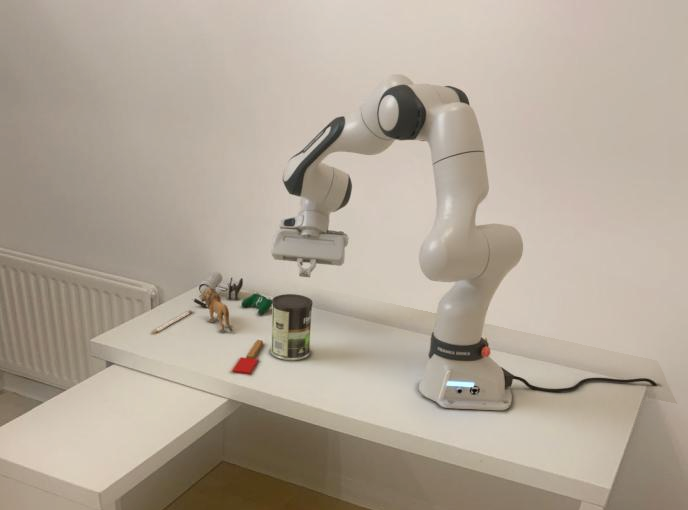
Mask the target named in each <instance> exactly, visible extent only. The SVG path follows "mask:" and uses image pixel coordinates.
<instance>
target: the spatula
mask: <svg viewBox="0 0 688 510" xmlns="http://www.w3.org/2000/svg"><path fill="white" fill-rule="evenodd" d="M263 345H264V341H263V340H262V339H256V341H255V342H254V344H253V346H252V347H251V348H250V349H249V351H248V353H247V354H246V357H242V356H241V357H240V358H239V359H238V361H237V363H236V364H235V365H234V367H233V368H232V373H235V374H236V373H238V374H243V375H251V374H252V372H253V370H254V369H255V367H256V365H257V364H258V362H259V359H258V358H255V357H256V356H257V354H258V353H259V351H260V349H261V348H262V347H263Z"/></svg>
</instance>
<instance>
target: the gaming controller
mask: <svg viewBox="0 0 688 510" xmlns="http://www.w3.org/2000/svg"><path fill="white" fill-rule="evenodd" d="M272 299H273V298H271V297H269V296H268V295H267V296H264V295H261V293H259V292H258V291H257V290H254V293H252V295H250V296H248V297H246V298H244V299H243V300H242V301H241V305H240V306H241V307H242V308H247V307H250V306H254V307H255V308H258V311H257V314H258V315H260V316H261V315H263V314H265V313H266V312H267V311H269V310H270V309H271V308H272Z"/></svg>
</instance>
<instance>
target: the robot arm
mask: <svg viewBox="0 0 688 510" xmlns="http://www.w3.org/2000/svg"><path fill="white" fill-rule="evenodd" d="M395 141H419V142H427V144H428V146H429V149H430V156H431V157H430V158H431V163H432V172H433V178H434V186H435V193H436V194H435V197H436V207H435V208H436V209H435V217H434V220H433V225H432V227H431V229H430V231H429V233H428V235H426V238H424V240H423V242H422V243H421V245H420V248H419V252H418V264H419V267H420V269H421V272H422V274H423V275H424V276H425V277H426V278H427V280H430V281H432V282H439V283H440V282H441V283H454V284H453V285H452V286H451V288H450V289H449V290H448V291H446V293H445V294H444V295H442V296H441V298H440V299H439V301H438V304H437V307H436V308H437V309H436V316H435V321H434V328H433V331H432V333H431V337H430V340H429V346H428V351H427V352H428V360H427V362H426V363H427V364H426V366H425V370H424V372H423V376H422V378H421V380H420V382H419V384H418V391H419V393H420V394H421V395H423V397H425V398H427V399H429V400H431V401H433V402H435V403H437V404H438V405H439V406H440V407H441V408H445V409H456V410H457V409H459V410H481V411H482V410H483V411H506V410H507V409H508V408H510V407H511V405H512V401H513V400H512V399H513V395H512V391H511V389H510V387H512V386H513V380H516V381H519V382H522V384H524V386H526V387H527V388H529V389H532V390H535V391H541V392H548V393H561V392H563V393H564V392H571V391H574V390H576V389H578V388H579V387H580V386H581V385H583V384H584V383H587V382H588V383H589V382H596V381H597V382H599V381H600V382H611V383H623V384H628V383H639V382H647V383H650V384H651V385H652V386H653V387H658V384H657V383H656V382H655V381H654V380H653V379H651V378H647V377H639V378H630V379H621V378H611V377H587V378H583V379H582V380H580V381H578V382H577V383H576V384H575V385H573V386H570V387H563V388H547V387H540V386H536V385H533V384H531V383H529V382H528V381H527V380H526V379H525V378H523V377H520V376H516V375H514V374H512V373H511V372H510V371H508V370H507V369H505V368H504V367H502V366H500V365H499V364H498V363H497V362H496V361H495V360H494V359H492V358H491V348H490V347H489V342H488V339H487V337H485V338H483V337H482V335H483V330H484V327H485V321H486V317H487V314H488V313H487V312H488V309H489V306H490V304H491V302H492V299H493V297H494V296H495V294H496V292H497V290H498V288H499V287H500V285H501V283H502V282H503V281H504V279H505V277H506V276H507V275H508V274H509V272H511V271H512V270H513V269H514V268H515V267H516V266H517V265H518V264H519V263H520V261H521V260H522V256H523V253H524V241H523V238H522V236H521V233H520V231H519V230H518V229H517V228H516V227H514V226H512V225H508V224H502V223H487V224H486V223H485V224H478V225H476V215H477V210H478V207H479V205H480V204H482V203H483V201H485V199H486V198H487V196H488V194H489V189H490V184H489V175H488V169H487V161H486V153H485V147H484V141H483V137H482V132H481V129H480V124H479V121H478V118H477V115H476V113H475V111H474V108H473V107H472V106H471V104H470V100H469V98H468V95H467V94H466V93H465V92H464V91H463V90H462V89H460V88H458V87H455V86H451V85H437V84H430V83H414V82H413V81H412V80H411V79H410V78H409V77H408V76H406V75H404V74H399V73H394V74H391V75H388V76H387V77H386V78H385V79H383V80H382V81H381V82H380V83H379V84H378V85H376V87H375V88H374V89H373V90H372V92H370V94H369V95H368V96H367V97H366V99H365V100H364V102H363V103H362V104H361V105H360V106H359V107H358V108H357V109H355V110H354V111H352V112H350V113H348V114H346V115H342V116H337V117H335V118H333V119H332V120H331V121H330V122H329V123H328V124H327V125H326V126H324V127H323V129H322V130H321V131H319V132H318V134H316V136H315V137H314V138H312V139H311V140H310V141H309V143H308V144H307V145H306V146H305V147H304V148H302V149H301V150H300V151H299V152H297V153H296V154H294V155H292V157H290V159H289V160H288V162H287V163H286V165H285V167H284V170H283V174H282V182H283V186H284V187H285V189H286V191H287V192H288V194H289V195H292V196H295V197H299V198H300V202H299V203H300V210H299V212H298V214H297V215H295V216H292V217H287V218H283V219H280V222H279V229H278V230H277V231H276V232H275V234H274V236H273V239H272V244H271V248H270V253H271V257H272V258H273V259H274V260H276V261H285V262H286V261H287V262H296V263H297V267H298V269H299V272H298V275H299V277H301V278H311V274H312V272H314V270H315V268H316V267H317V265H318V264H319V265H328V266H337V267H340V266H343V264H344V263H345V257H346V249H345V248H346V247H347V246H348V244H349V236H348V234H347V233H345V231H337V230H331V229H329V227H330V215H331V213H335V212H337V211H339V210H342V209H343V208H344V207H346V206H347V205H348V204H349V202H350V199H351V195H352V190H353V182H352V178H351V176H350V174H349V173H346V172H345V171H343V170H341V169H338V168H336V167H335V166H331V165H328V164H327V163H324V162H323V161H324V160H325V159H326V158H327V157H328V156H329V155H331V154H334V153H339V152H345V153H351V154H357V155H358V154H359V155H363V156H365V155H366V156H375V155H379V154H382V153H383V152H385V151H386V150H388V149H389V148H390V147H391V146H392V145H393V144H394V142H395ZM304 263H305V264H306V263H307V264H310V265H309V267H308V268H303V265H304Z"/></svg>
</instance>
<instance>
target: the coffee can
mask: <svg viewBox="0 0 688 510" xmlns="http://www.w3.org/2000/svg"><path fill="white" fill-rule="evenodd" d="M271 299H272V305H271V309H272V310H271V350H270V353H271V355H272V356H273V357H275V358H276V359H279V360H282V361H283V360H284V361H299V360H301V361H302V360H304V359H306V358H308V357H309V356H310V346H311V345H310V344H311V327H312V325H311V324H312V306H313V300H312V299H311V298H310V297H308V296H305V295H301V294H295V293H292V294H291V293H286V294H285V293H284V294H280V295H277V296H274V297H273V298H271Z"/></svg>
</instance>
